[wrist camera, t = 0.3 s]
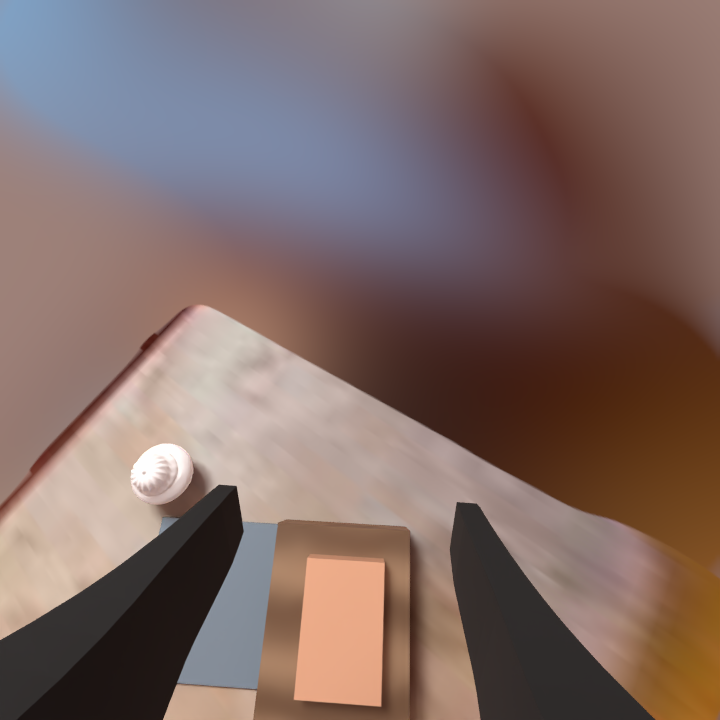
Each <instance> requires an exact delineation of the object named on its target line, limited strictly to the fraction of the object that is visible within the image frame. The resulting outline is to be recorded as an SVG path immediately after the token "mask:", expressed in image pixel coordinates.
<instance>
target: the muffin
mask: <svg viewBox="0 0 720 720" xmlns="http://www.w3.org/2000/svg"><path fill="white" fill-rule="evenodd" d="M193 469H194V467H193V462H192V459H191V457H190V455H189V454H188V452H187V451H185V450H184V449H183V448H181V447H180V446H177V445H174V444H160V445H157V446H154V447H152V448H150V449H149V450H147V451H146V452H145V453H144V454H143V455H142V456H141V457H140V458H139V460H138V461H137V463H135V464H134V468H133V470H132V471H131V473H132V475H131V485H132V489H133V491H134V493H135V495H136V496H137V497H138V498H139V499H140V500H142V501H144V502H146V503H149V504H154V505H160V504H165V503H168V502H170V501H172V500H174V499H176V498H177V497H179V496H180V495H181V494H182V493H183V492H184V491H185V489H186V488H188V485H189V484H190V483H191V479H192V478H193V477H192V475H193V473H194V472H193Z"/></svg>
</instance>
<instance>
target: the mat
mask: <svg viewBox="0 0 720 720" xmlns="http://www.w3.org/2000/svg"><path fill="white" fill-rule="evenodd" d="M178 519H179V518H171V517H163V519H162V523H161V528H160V532H159V535H160V534H161V533H162V532H163V531H165V530H166V529H167V528H168V527H170V526H171V525H172V524H173V523H174V522H176V521H177V520H178ZM242 523H243V529H244V533H243V536H242V539H241V542H240V544H239V547H238V550H237V553H236V556H235V558H234V561H233V564H232V566H231V568H230V570H229V572H228V574H227V576H226V578H225V580H224V583H223V585H222V587H221V589H220V591H219V593H218V595H217V597H216V599H215V601H214V603H213V605H212V607H211V609H210V611H209V613H208V615H207V617H206V619H205V621H204V623H203V625H202V627H201V629H200V631H199V633H198V635H197V637H196V640H195V642H194V644H193V646H192V648H191V650H190V653H189V655H188V657H187V659H186V662H185V664H184V667H183V669H182V672H181V674H180V677H179V679H178V682H177V683H182V684H195V685H208V686H222V687H235V688H248V689H257V686H258V678H259V670H260V662H261V654H262V646H263V639H264V631H265V623H266V615H267V607H268V599H269V591H270V583H271V575H272V567H273V559H274V551H275V543H276V535H277V527H278V524H269V523H252V522H242Z"/></svg>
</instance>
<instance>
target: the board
mask: <svg viewBox="0 0 720 720" xmlns="http://www.w3.org/2000/svg"><path fill="white" fill-rule="evenodd" d="M310 554H320V555H336V556H351V557H367V558H383V559H384V562H385V572H384V612H383V653H382V693H381V707H379V706H366V705H353V704H340V703H327V702H314V701H301V700H294V692H295V682H296V671H297V661H298V650H299V640H300V629H301V619H302V608H303V598H304V587H305V577H306V566H307V558H308V556H309V555H310ZM253 720H410V531H409V530H408V529H407V528H406V527H401V526H385V525H368V524H352V523H335V522H319V521H302V520H284V521H282V522H279V523H278V527H277V535H276V543H275V551H274V559H273V567H272V575H271V583H270V591H269V599H268V607H267V615H266V623H265V631H264V639H263V646H262V654H261V662H260V670H259V678H258V686H257V694H256V702H255V710H254V718H253Z"/></svg>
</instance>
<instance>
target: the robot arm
mask: <svg viewBox="0 0 720 720" xmlns="http://www.w3.org/2000/svg"><path fill="white" fill-rule="evenodd" d="M243 533H244V529H243V523H242V517H241V511H240V504H239V498H238V492H237V486H229V485H218V486H217V487H216V488H215V489H213V490H212V491H211V492H210V493H209V494H207V495H206V496H205V497H204V498H203V499H202V500H200V501H199V502H198V503H197V504H196V505H194V506H193V507H192V508H191V509H190V510H189V511H187V512H186V513H185V514H184V515H183V516H182V517H180V518H179V519H178V520H177V521H176V522H174V523H173V524H172V525H171V526H170V527H168V528H167V529H166V530H165V531H163V532H162V533H161V534H160V535H159V536H157V537H156V538H155V539H153V540H152V541H151V542H150V543H148V544H147V545H146V546H144V547H143V548H142V549H141V550H139V551H138V552H137V553H135V554H134V555H133V556H131V557H130V558H129V559H128V560H126V561H125V562H124V563H122V564H121V565H119V566H118V567H117V568H115V569H114V570H112V571H111V572H110V573H108V574H107V575H105V576H104V577H102V578H101V579H99V580H98V581H96V582H95V583H94V584H92V585H91V586H89V587H88V588H86V589H85V590H83V591H82V592H80V593H79V594H77V595H75V596H74V597H72V598H71V599H69V600H67V601H66V602H64V603H62V604H61V605H59V606H58V607H56V608H54V609H53V610H51V611H49V612H48V613H46V614H45V615H43V616H41V617H40V618H38V619H36V620H35V621H33V622H31V623H30V624H28V625H26V626H25V627H23V628H21V629H19V630H17V631H16V632H14V633H12V634H10V635H9V636H7V637H5V638H3V639H2V640H0V720H163V718H164V715H165V713H166V710H167V707H168V705H169V702H170V700H171V697H172V695H173V692H174V689H175V687H176V684H177V682H178V679H179V677H180V674H181V672H182V669H183V667H184V664H185V662H186V659H187V657H188V655H189V653H190V650H191V648H192V646H193V644H194V642H195V640H196V637H197V635H198V633H199V631H200V629H201V627H202V625H203V623H204V621H205V619H206V617H207V615H208V613H209V611H210V609H211V607H212V605H213V603H214V601H215V599H216V597H217V595H218V593H219V591H220V589H221V587H222V585H223V583H224V580H225V578H226V576H227V574H228V572H229V570H230V568H231V566H232V564H233V561H234V558H235V556H236V553H237V550H238V547H239V544H240V542H241V539H242V536H243ZM450 555H451V564H452V573H453V581H454V587H455V592H456V597H457V601H458V606H459V611H460V615H461V620H462V624H463V629H464V633H465V638H466V642H467V647H468V652H469V656H470V661H471V665H472V670H473V675H474V680H475V685H476V691H477V697H478V704H479V711H480V718H481V720H655V719H654V718H653V717H652V716H651V715H650V714H649V713H648V712H647V711H646V710H645V709H644V708H643V707H642V706H641V705H640V704H639V703H638V702H637V701H636V700H635V699H634V698H633V697H632V696H631V695H630V694H629V693H628V692H627V691H626V690H625V689H624V688H623V687H622V686H621V685H620V684H619V683H618V682H617V681H616V680H615V679H614V678H613V677H612V676H611V675H610V674H609V673H608V672H607V671H606V670H605V669H604V668H603V667H602V666H601V664H600V663H599V662H598V661H597V660H596V659H595V658H594V657H593V656H592V655H591V654H590V652H589V651H588V650H587V649H586V648H585V647H584V646H583V645H582V644H581V643H580V642H579V640H578V639H577V638H576V637H575V636H574V635H573V634H572V632H571V631H570V630H569V629H568V628H567V627H566V626H565V624H564V623H563V622H562V621H561V620H560V618H559V617H558V616H557V615H556V614H555V612H554V611H553V610H552V609H551V608H550V606H549V605H548V604H547V603H546V601H545V600H544V599H543V598H542V596H541V595H540V594H539V592H538V591H537V590H536V589H535V587H534V586H533V585H532V583H531V582H530V581H529V579H528V578H527V577H526V575H525V574H524V573H523V571H522V570H521V569H520V567H519V566H518V564H517V563H516V562H515V560H514V559H513V557H512V556H511V555H510V553H509V552H508V550H507V549H506V547H505V546H504V544H503V543H502V541H501V540H500V538H499V537H498V535H497V534H496V532H495V531H494V529H493V528H492V526H491V525H490V523H489V521H488V520H487V518H486V517H485V515H484V513H483V512H482V510H481V508H480V507H479V506H478V505H477V504H474V503H460V502H457V505H456V511H455V518H454V525H453V531H452V538H451V545H450Z"/></svg>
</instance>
